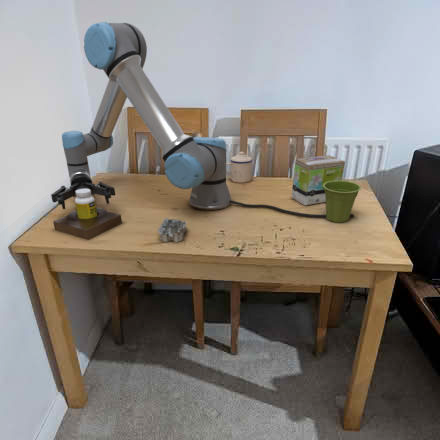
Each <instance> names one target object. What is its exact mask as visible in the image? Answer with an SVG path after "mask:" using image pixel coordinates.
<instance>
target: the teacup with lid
mask: <svg viewBox="0 0 440 440" xmlns="http://www.w3.org/2000/svg"><path fill="white" fill-rule="evenodd" d="M252 163H253V158H252V157H251V156H249V155H248V154H245V152H244V151H239V152H238V154H236V155H233V156H232V157H231V158H230V162H226V166H230V172H228V171H227V170H226V175H228V176H230V180H231V182H233V183H237V184H246V183H249V182H251V181H252V168H253V167H252Z"/></svg>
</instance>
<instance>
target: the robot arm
mask: <svg viewBox="0 0 440 440" xmlns="http://www.w3.org/2000/svg"><path fill="white" fill-rule="evenodd" d="M83 43H84V45H83V50H84V51H83V52H84V54H85V57H86V59H87V61H88V63H89V64H90V65H91V67H93V68H95V69H97V70H100V71H101V70H103V73H105V75H106V76H107V78H108V82H107V85H106V88H105V91H104V93H103V95H102V97H101V98H102V99H101V101H100V103H99V107H98V109H97V111H96V115H95V117H94V120H93V124H92V126H91V128H90V131H89V132H88V133H85V134H84V133H83V132H82V131H80V130H69V131H64V132H63V133H62V134H61V141H62V142H61V143H62V147H63V150H64V152H63V153H64V156H65V160H66V166H67V171H68V177H69V183H70V185H69V187H66V186H65V185H61V186H60V188H58V189H56V190H55V191H54V192H53V193H51V194H50V196H51V201H52V203H57V204H58V205H59V206H61V208H62V210H66V202H65V201H67V200H68V199H71V198H77V196H76V190H79V189H90V190H91V196H95V195H97V196H102V197H104V200H105V202H106V205H109V204H110V199H112V196H116V190H115V189H116V188H115V187H114V186H111V185H109V184H105V183H103V181H99V182H98V183H97V184H95V183H93V180H92V176H91V171H90V165H89V160H88V157H89V156H92V155H96V154H99V153H101V152H105V151H108V150H109V149H111V148H112V147H113V145H114V136H113V133H114V129H115V128H116V125H117V123H118V120H119V118H120V115H121V113H122V111H123V108H124V106H125V103H126V101H127V99H128V100H129V102H130V104H131V105H132V106H133V108H134V110H135V111H136V112H137V114H138V115H139V117H140V118H141V120H142V122H143V123H144V125H145V126H146V127H147V129H148V131H149V132H150V133H151V135H152V137H153V138H154V140H155V141H156V142H157V144H158V145H159V147H160V149H161V150H162V153H161V158H162V160H163V161H164V174H165V176H166V178H167V180H168V182H169V183H170V184H171V185H173V186H174V187H176V188H178V189H182V190H191V192H190V194H189V195H190V196H189V205H190V206H191V207H192V208H194V209H197V210H201V211H218V210H223V209H226V208H228V207H230V206H231V204H233V205H237V206H241V207H245V208H267V209H272V210H275V211H278V212H281V213H285V214H288V215H294V216H299V217H306V218H326V214H315V213H303V212H297V211H293V210H287V209H284V208H280V207H278V206H275V205H270V204H261V203H260V204H251V203H250V204H247V203H244V202H239V201H236V200H232V196H231V194H230V189H229V186H228V184H227V174H226V171H227V165H226V163H227V151H228V149H227V142H226V140H224V139H223V138H219V137H209V136H208V137H207V136H197V137H193V136H192V135H188V134H185V133H184V131H183V129H182V128H181V126H180V125H179V123H178V122H177V120H176V119H175V117H174V116H173V114H172V112H171V111H170V110H169V108H168V107H167V105H166V103H165V102H164V100H163V99H162V97H161V96H160V94H159V92H158V91H157V90H156V88H155V86H154V85H153V83H152V82H151V81H150V78H149V77H148V75H147V74H146V72H145V71H144V66H145V63H146V60H147V53H148V46H147V41H146V39H145V36H144V34H143V33H142V31H141V30H140V29H139V27H137V26H135V25H133V24H131V23H128V22H106V21H101V22H95V23H92V24H91V25H89V27H88V28H87V30H86V31H85V34H84V37H83ZM354 217H355V213H350V216H349V218H354ZM326 219H327V218H326Z"/></svg>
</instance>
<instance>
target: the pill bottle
mask: <svg viewBox="0 0 440 440" xmlns="http://www.w3.org/2000/svg"><path fill="white" fill-rule="evenodd" d="M74 205H75V210H77V215H78V218H80V219H89V218H94V217H96V216H97V210H96V208H97V205H96V199H95V197H94V195H91V190H90V189H79V190H76V197H75V199H74Z"/></svg>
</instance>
